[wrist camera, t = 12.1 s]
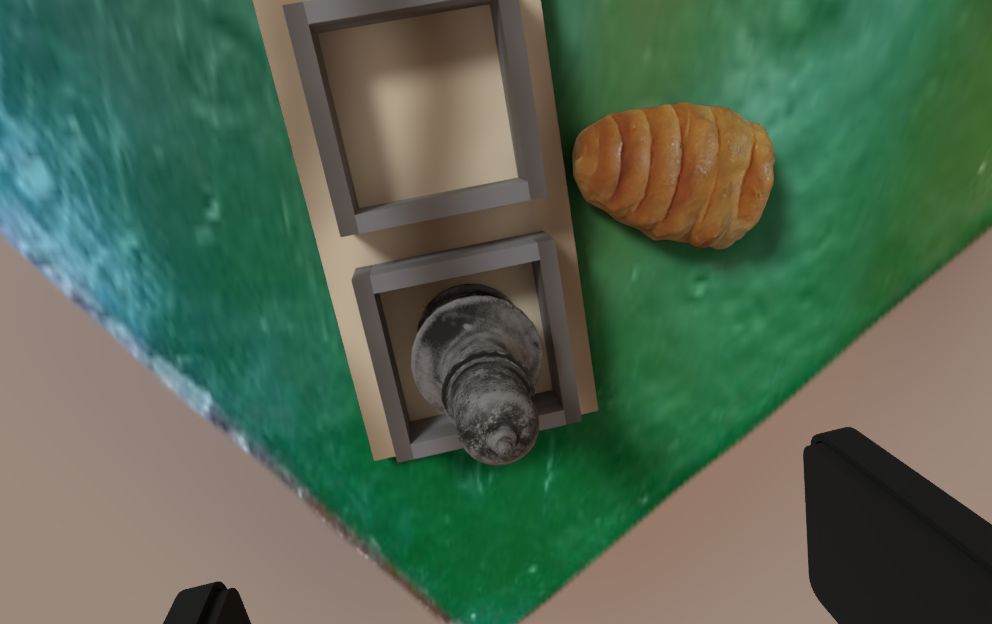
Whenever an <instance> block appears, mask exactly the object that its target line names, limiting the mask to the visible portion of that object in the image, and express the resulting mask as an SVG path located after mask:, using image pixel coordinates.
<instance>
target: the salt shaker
mask: <svg viewBox="0 0 992 624" xmlns="http://www.w3.org/2000/svg"><path fill="white" fill-rule="evenodd" d="M542 360H543V350H542V344H541V339H540V336H539V334H538V332H537V330H536V328H535V326H534V324H533V322H532V321H531V320H530V319H529V318H528V317H527V315H526V314H525V313H524V312H523V311H522V310H521V309H519V308H517V307H516V306H514V305H513V303H512V302H511V301H510V300H509V299H508V298H507V297H506V296H505V295H504V294H502V293H500V292H499V291H497V290H496V289H494V288H491V287H488V286H485V285H481V284H463V285H458V286H454V287H451V288H449V289H447V290H445V291H443V292H441V293H440V294H438V295H437V296H436V297H435V298H434V299H433V300H432V301H430V302H429V304H428V305H427V307H426V308H425V310H424V311H423V313H422V314H421V317H420V320H419V323H418V327H417V335H416V338H415V341H414V344H413V347H412V355H411V369H412V373H413V377H414V381H415V384H416V385H417V387H418V389H419V391H420V392H421V394H422V396H423V397H424V398H425V399H426V400H427V401H428V402H429V403H430V404H431V405H432V406H433V407H434V408H435V409H437V410H439V411H440V412H442V413H444V414H446V415H447V416H448V418H449V420H450V421H451V422H452V423H453V424H454V425H455V426H456V429H457V434H458V438H459V441H460V443H461V444H462V446H463V448H464V449H465V451H466V452H467V453H468V454H469V455H470V456H471V457H472V458H474V459H476V460H477V461H479V462H481V463H485V464H489V465H505V464H509V463H513V462H515V461H517V460H519V459H521V458H522V457H524V456H525V455H526V454H527V453H528V452H529V451H530V450H531V449H532V447H533V446H534V445H535V442H536V440H537V437H538V434H539V418H538V413H537V410H536V408H535V406H534V404H533V402H534V395H535V385H536V383H537V380H538V378H539V375H540V373H541V370H542Z"/></svg>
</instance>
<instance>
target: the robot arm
mask: <svg viewBox="0 0 992 624" xmlns="http://www.w3.org/2000/svg"><path fill="white" fill-rule="evenodd" d="M803 460H804V481H805V502H806V523H807V544H808V565H809V579H810V583H811V586H812V589H813V591H814V593H815V595H816V597H817V598H818V600H819V601H820V602H821V604H822V605H823V606H824V607H825V608H826V609H827V611H828V612H829V613H830V614H831V615H832V617H833V618H834V619H835V620H836V621H837V622H838V624H992V525H991V524H990V523H989V522H987V521H985V520H984V519H983V518H981V517H980V516H978V515H977V514H976V513H974V512H973V511H971V510H970V509H968V508H967V507H966V506H964V505H963V504H961V503H960V502H958V501H957V500H956V499H954V498H953V497H951V496H950V495H948V494H947V493H946V492H944V491H943V490H941V489H940V488H939V487H937V486H935V485H934V484H933V483H931V482H930V481H929V480H927V479H926V478H924V477H923V476H921V475H920V474H919V473H917V472H916V471H914V470H913V469H911V468H910V467H909V466H907V465H906V464H904V463H903V462H901V461H900V460H899V459H897V458H896V457H894V456H893V455H891V454H890V453H889V452H887V451H886V450H884V449H883V448H881V447H880V446H879V445H877V444H876V443H874V442H873V441H871V440H870V439H869V438H867V437H866V436H864V435H863V434H861V433H860V432H859V431H857V430H856V429H853V428H851V427H845V428H841V429H837V430H832V431H828V432H825V433H820V434H816V435H815V436H813V438H812V440H811V445H810V446H807V447H805V449H804V454H803ZM163 624H251V622H250V620H249V617H248V615H247V612H246V610H245V607H244V605H243V602H242V600H241V597H240V595H239V593H238V591H237V590H236V589H235V588H230V589H227V588H226V586H225V585H224V584H223V583H222V582H214V583H210V584H206V585H201V586H197V587H194V588H189V589H185V590H183V591H181V592H179V594H178V595H177V597H176V598H175V600H174V602H173V605H172V607H171V609H170V611H169V613H168V615H167V617H166V619H165V621H164V623H163Z"/></svg>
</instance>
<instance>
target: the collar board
mask: <svg viewBox="0 0 992 624" xmlns="http://www.w3.org/2000/svg"><path fill="white" fill-rule="evenodd" d="M253 3H254V7H255V11H256V15H257V18H258V22H259V26H260V30H261V33H262V37H263V41H264V45H265V49H266V52H267V56H268V60H269V64H270V68H271V71H272V75H273V79H274V83H275V87H276V90H277V94H278V98H279V102H280V105H281V109H282V113H283V117H284V121H285V124H286V128H287V132H288V136H289V140H290V143H291V147H292V151H293V155H294V159H295V162H296V166H297V170H298V174H299V178H300V181H301V185H302V189H303V193H304V196H305V200H306V204H307V208H308V212H309V215H310V219H311V223H312V227H313V231H314V234H315V238H316V242H317V246H318V250H319V253H320V257H321V261H322V265H323V268H324V272H325V276H326V280H327V284H328V287H329V291H330V295H331V299H332V303H333V306H334V310H335V314H336V318H337V322H338V325H339V329H340V333H341V337H342V340H343V344H344V348H345V352H346V356H347V359H348V363H349V367H350V371H351V375H352V378H353V382H354V386H355V390H356V394H357V397H358V401H359V405H360V409H361V413H362V416H363V420H364V424H365V428H366V431H367V435H368V439H369V443H370V447H371V450H372V454H373V458H374V461H377V460H381V459H386V458H390V457H395V456H396V460H397V463H400V462H404V461H408V460H413V459H417V458H422V457H426V456H431V455H435V454H439V453H444V452H448V451H453V450H457V449H462V448H463V446H462V444H461V443H460V441H459V438H458V434H457V429H456V426H455V425H454V424H453V423H452V422H451V421H450V420H449V418H448V416H447V415H446V414H444V413H442V412H440V411H439V410H437V409H435V408H434V407H433V406H432V405H431V404H430V403H429V402H428V401H427V400H426V399H425V398H424V397H423V396H422V394H421V392H420V391H419V389H418V387H417V385H416V384H415V381H414V377H413V373H412V369H411V355H412V347H413V344H414V341H415V338H416V335H417V327H418V323H419V320H420V317H421V314H422V313H423V311H424V310H425V308H426V307H427V305H428V304H429V302H430V301H432V300H433V299H434V298H435V297H436V296H437V295H438V294H440V293H441V292H443V291H445V290H447V289H449V288H451V287H454V286H458V285H463V284H481V285H485V286H488V287H491V288H494V289H496V290H497V291H499V292H500V293H502V294H504V295H505V296H506V297H507V298H508V299H509V300H510V301H511V302H512V303H513V305H514V306H516V307H517V308H519V309H521V310H522V311H523V312H524V313H525V314H526V315H527V317H528V318H529V319H530V320H531V321H532V322H533V324H534V326H535V328H536V330H537V332H538V334H539V336H540V339H541V344H542V350H543V360H542V370H541V373H540V375H539V378H538V380H537V383H536V385H535V395H534V402H533V404H534V406H535V408H536V410H537V413H538V418H539V431H541V430H546V429H550V428H555V427H559V426H563V425H568V424H572V423H577V422H581V421H582V417H581V414H586V413H590V412H595V411H599V410H598V403H597V396H596V389H595V382H594V375H593V368H592V361H591V354H590V347H589V339H588V332H587V325H586V318H585V311H584V304H583V297H582V290H581V283H580V275H579V268H578V261H577V254H576V247H575V240H574V233H573V226H572V219H571V211H570V204H569V197H568V190H567V183H566V176H565V169H564V162H563V155H562V147H561V140H560V133H559V126H558V119H557V112H556V105H555V98H554V91H553V83H552V76H551V69H550V62H549V55H548V48H547V41H546V34H545V27H544V19H543V12H542V5H541V0H253Z"/></svg>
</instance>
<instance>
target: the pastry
mask: <svg viewBox="0 0 992 624" xmlns="http://www.w3.org/2000/svg"><path fill="white" fill-rule="evenodd" d="M774 162H775V156H774V148H773V145H772V142H771V140H770V138H769V136H768V133H767V132H766V129H765V128H764V127H763V126H761V125H760V124H758V123H754V122H750V121H748V120H746V119H744V118H743V117H742V116H741V115H740V114H738V113H737V112H734V111H732V110H730V109H729V108H725V107H722V106H710V107H708V106H705V105H696V104H692V103H688V102H680V103H677V104H665V105H661V106H657V107H650V108H643V109H637V110H634V109H632V110H627V111H623V112H618V113H614V114H609V115H607V116H605V117H604V118H602V119H600V120H599V121H597V122H595V123H593V124H591V125H589V126H588V127H586V128H585V129H584V130H582V131H581V132H580V133H579V135H578V136H577V138H576V141H575V145H574V148H573V153H572V164H573V177H574V179H575V181H576V183H577V186H578V187H579V189H580V192H581V194H582V196H583V198H584V200H585V201H586V202H588V203H590V204H592V205H594V206H595V207H597V208H600V209H602V210H604V211H605V212H607V213H608V214H609V215H610V216H611V217H612V218H614V219H615V220H616V221H618V222H620V223H622V224H625V225H627V226H631V227H634V228H636V229H638V230H640V231H641V232H643V233H644V234H645V235H646V236H647V237H649V238H651V239H652V240H658V241H659V240H672V241H678V242H685V243H689V244H691V245H692V246H694V247H697V248H705V247H708V246H710V247H712V248H714V249H718V250H721V249H725V248H727V247H729V246H731V245H732V244H733V243H734V242H735V241H736V240H739V239H741V238H742V237H743V236H744V235H745V233H746V232H747V231H749V230H751V229H752V228H753V227H754V226H755V225H756V224H757V223H758V221H759V219H760V217H761V215H762V212H763V210H764V208H765V206H766V203H767V201H768V198H769V195H770V191H771V189H772V186H773V183H774V173H773V165H774Z"/></svg>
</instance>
